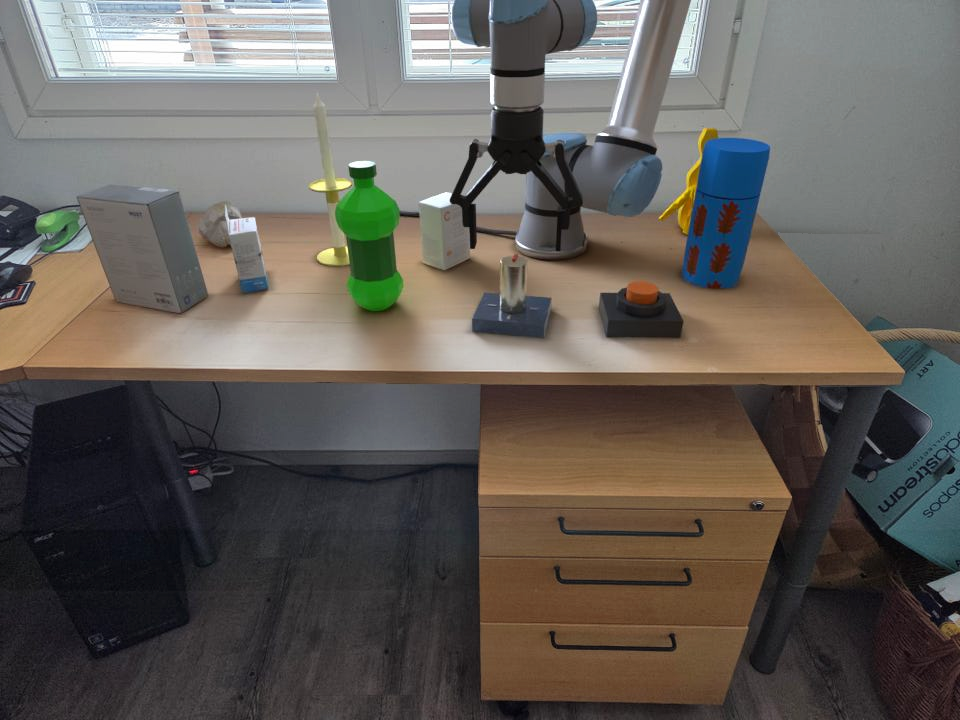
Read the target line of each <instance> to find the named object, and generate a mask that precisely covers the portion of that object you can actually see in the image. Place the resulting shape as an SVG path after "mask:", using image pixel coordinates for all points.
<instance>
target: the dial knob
mask: <svg viewBox="0 0 960 720" xmlns="http://www.w3.org/2000/svg"><path fill="white" fill-rule="evenodd" d="M499 263H500V264H499V293H500V309H501V310H502V311H504V312H506V313H520V312H523V311H524V310H525V309H526V296H527V288H528V287H527V286H528V259H527V258H526V257H523V256H520V255H519V254H517V253H514V254H513V255H507V256H503V257H502V258H501V259H500V260H499Z"/></svg>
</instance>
